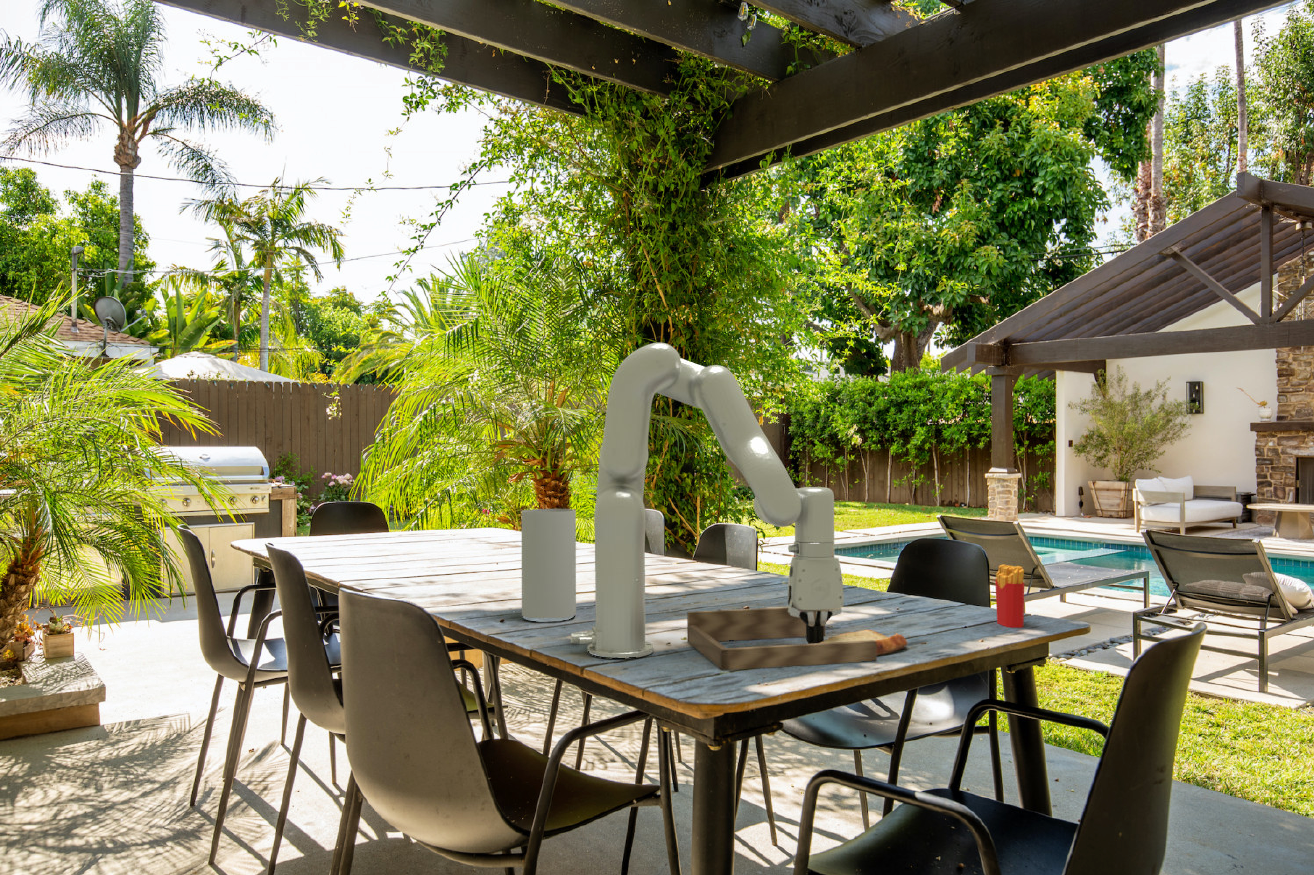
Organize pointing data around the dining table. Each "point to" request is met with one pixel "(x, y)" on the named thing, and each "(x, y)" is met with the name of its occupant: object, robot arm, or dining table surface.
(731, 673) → the dining table surface
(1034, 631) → the dining table surface
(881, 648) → the bread slice
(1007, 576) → the french fries
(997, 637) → the dining table surface
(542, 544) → the cylinder vase
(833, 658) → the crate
